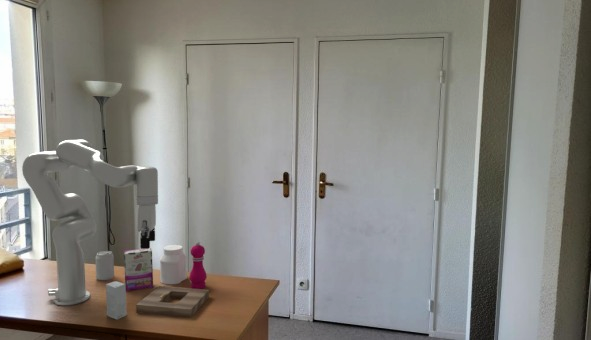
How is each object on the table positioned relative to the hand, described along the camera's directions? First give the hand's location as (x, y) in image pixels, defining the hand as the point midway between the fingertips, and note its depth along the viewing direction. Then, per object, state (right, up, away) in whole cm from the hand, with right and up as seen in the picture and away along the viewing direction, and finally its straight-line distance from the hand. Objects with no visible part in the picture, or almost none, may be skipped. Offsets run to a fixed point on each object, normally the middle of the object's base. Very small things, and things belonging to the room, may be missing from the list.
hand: (148, 244), depth 152 cm
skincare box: (-9, -25, -5) cm, 28 cm away
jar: (+1, -22, +30) cm, 37 cm away
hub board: (+9, -24, +5) cm, 26 cm away
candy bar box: (-11, -23, +21) cm, 32 cm away
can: (-31, -21, +30) cm, 48 cm away
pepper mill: (+14, -23, +22) cm, 35 cm away
